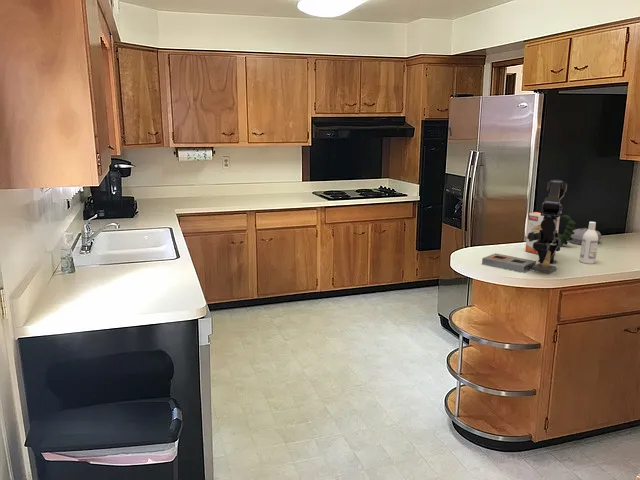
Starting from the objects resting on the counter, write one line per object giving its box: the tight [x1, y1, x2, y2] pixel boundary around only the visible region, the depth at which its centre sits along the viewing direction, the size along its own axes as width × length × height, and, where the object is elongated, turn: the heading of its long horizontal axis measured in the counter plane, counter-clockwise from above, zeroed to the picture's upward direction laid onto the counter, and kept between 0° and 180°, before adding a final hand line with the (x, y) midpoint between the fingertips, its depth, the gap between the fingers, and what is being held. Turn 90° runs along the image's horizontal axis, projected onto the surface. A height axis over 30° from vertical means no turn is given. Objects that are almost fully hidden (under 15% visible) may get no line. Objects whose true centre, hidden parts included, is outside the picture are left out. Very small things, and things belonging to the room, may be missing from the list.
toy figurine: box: [558, 214, 577, 246], centre depth 294 cm, size 9×19×25 cm
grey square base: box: [531, 262, 557, 275], centre depth 239 cm, size 8×8×2 cm
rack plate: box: [481, 253, 537, 273], centre depth 246 cm, size 14×20×3 cm
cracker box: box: [524, 211, 561, 255], centre depth 269 cm, size 14×6×21 cm, turn 35°
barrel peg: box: [539, 251, 551, 268], centre depth 238 cm, size 4×4×7 cm
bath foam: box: [579, 221, 599, 265], centre depth 254 cm, size 7×7×20 cm
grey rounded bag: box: [569, 227, 602, 245], centre depth 300 cm, size 15×8×20 cm
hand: (545, 261), depth 238 cm, fingers open, 8 cm apart
